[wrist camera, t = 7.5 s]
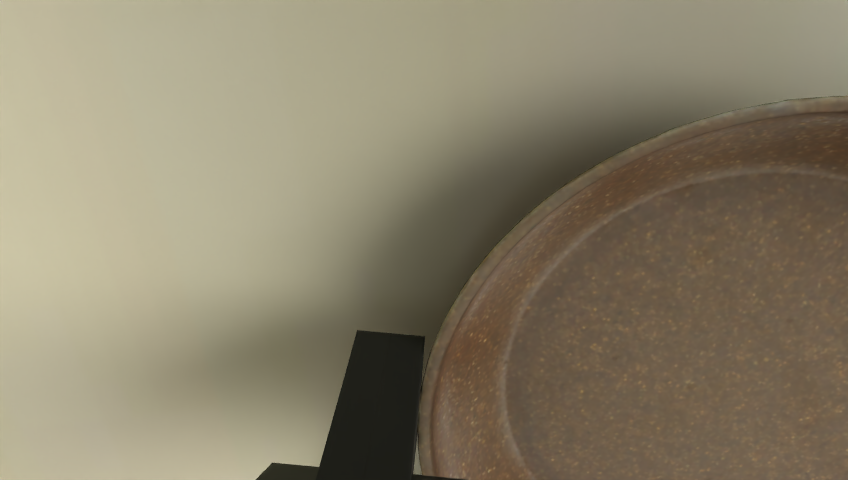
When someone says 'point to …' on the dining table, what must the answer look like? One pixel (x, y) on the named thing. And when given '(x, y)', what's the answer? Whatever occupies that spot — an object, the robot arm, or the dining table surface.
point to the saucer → (661, 316)
